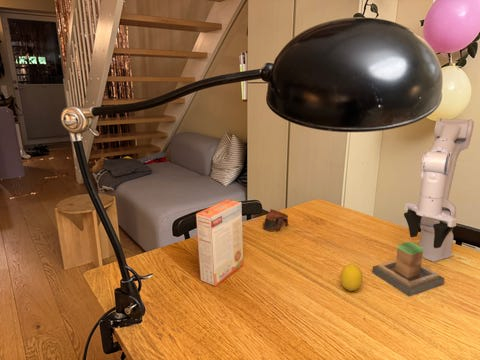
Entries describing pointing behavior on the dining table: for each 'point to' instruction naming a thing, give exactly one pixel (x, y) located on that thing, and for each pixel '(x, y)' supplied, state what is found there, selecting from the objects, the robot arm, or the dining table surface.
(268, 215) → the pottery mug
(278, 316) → the dining table surface
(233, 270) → the cracker box
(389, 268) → the gray square tray
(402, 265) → the brown and green block
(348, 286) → the lemon
